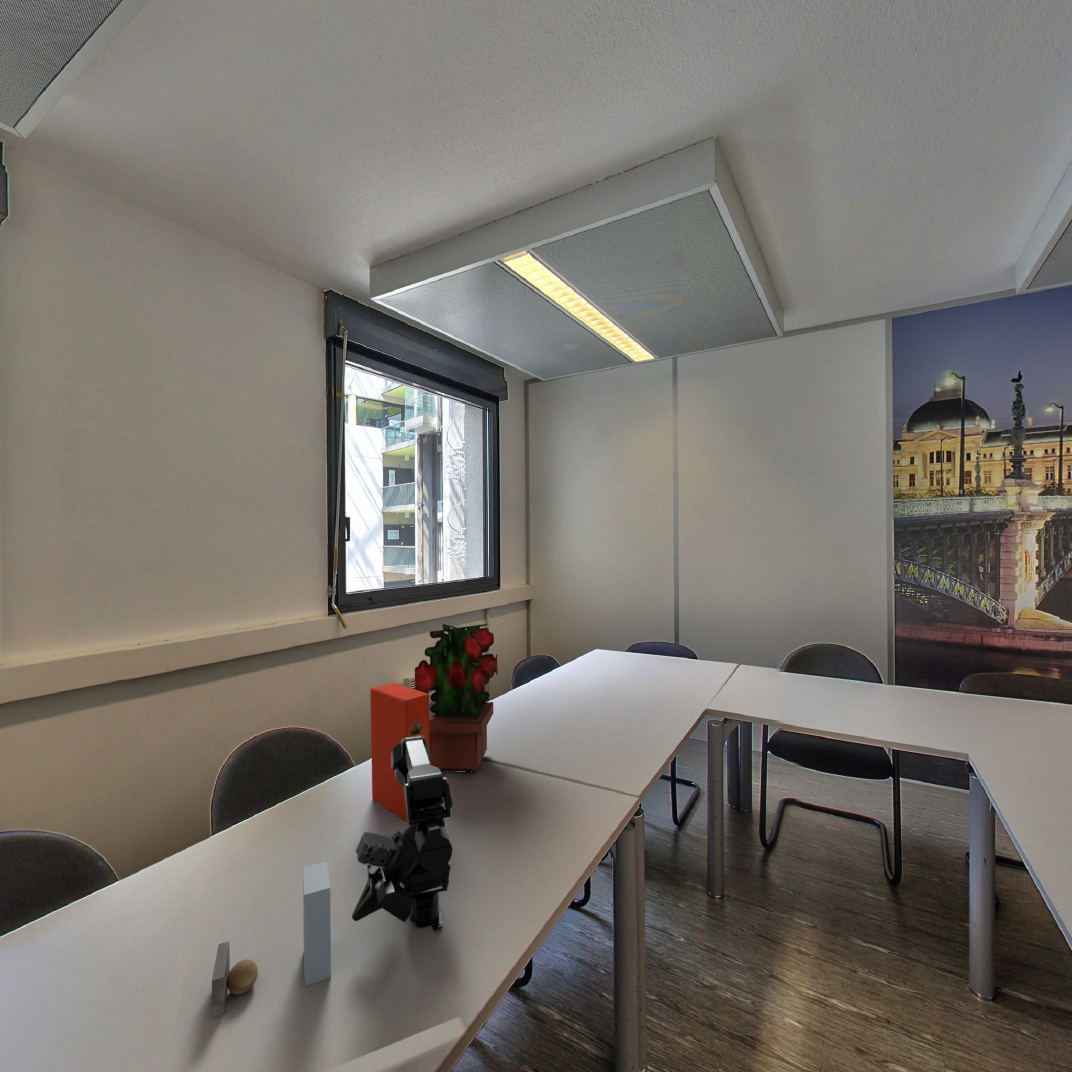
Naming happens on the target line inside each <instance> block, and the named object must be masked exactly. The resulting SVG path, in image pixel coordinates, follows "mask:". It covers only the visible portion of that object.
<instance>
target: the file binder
mask: <svg viewBox="0 0 1072 1072" xmlns="http://www.w3.org/2000/svg"><path fill="white" fill-rule="evenodd" d="M369 695H370V735H371V736H370V739H371V740H370V743H371V744H370V745H371V749H370V750H371V796H372V797H371V798H372V800H373V801H374V802H376V803H378V804H379V805H381V806H382V807H384V808H385V809H387V810H388V811H390V812H392V813H393V814H395V815H397V816H398V817H400V818H401V819H403V820H404V821H406V822H408V821H407V813H406V804H405V794H404V787H403V786H402V785H401V784H399V783H398V782H397V781H396V778H395V771H394V770H392V768H391V753H392V748H394V747H395V746H397V745H398V744H400V743H401V740H402V739H404V738H406V737H413V736H420V735H421V736H424V737H425V741H426V742H428V743H429V750H430V731H429V710H430V695H429V693H428V694H427V693H424V692H421V691H418V690H415V688H411V687H408V686H406V685H402V684H401V683H396V682H390V683H387V684H383V685H379V686H375V687H372V688H370V694H369Z"/></svg>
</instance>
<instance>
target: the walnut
mask: <svg viewBox="0 0 1072 1072" xmlns="http://www.w3.org/2000/svg"><path fill="white" fill-rule="evenodd" d="M258 975H259V970H258V966H257V964H256V962H255V961H254V960H252V959H243V960H240V961H238V962H237V963H236V964H234V965H233V966H232V968H231V969H230V973H229V975H228V978H227V987H228V991H229V992H230V993H231V994H233V995H235V996H236V995H238V996H239V995H243V994H245V993H247V992H249V990H251V989H252V987H253V986H254V985H255V983H256V981H257V979H258Z"/></svg>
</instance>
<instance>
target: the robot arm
mask: <svg viewBox="0 0 1072 1072" xmlns="http://www.w3.org/2000/svg"><path fill="white" fill-rule="evenodd" d="M391 768H392V770H394V771H395V778H396V781H397V782H398V783H399V784H401V785H402V786H403V787H404V794H405V804H406V813H407V821H406V822H407V825H408V826H406V828H405V829H404V830H403V831H402V832H400V831H397V832H395V833H393V835H392V836H391V837H388V836H385V835H382V834H379V833H373V832H368V831H365V832H363V833H362V835H361V837H360V841H359V843H358V845H357V847H356V849H355V853H356V854H357V861H358V862H359V863H360V864H363V865H366V870H367V871H366V872H367V882H366V883H365V886H364V888H363V891H362V893H361V895H360V897H359V899H358V901H357V904H356V906H355V908H354V910H353V911H352V914H351V919H352V920H353V921H354V922H358V921H360V920H362V919H364V918H366V917H367V916H370V915H371V914H373V913H375V912H377V911H379V910H381V909H383V910H384V911H386V912H388V913H389V914H390V915H392V916H394V918H397V919H398V920H399V921H401V922H403V923H406V922H407V921H408V919H409V920H410V921H411V922H412V923H414V924H415V927H417V929H422V928H427V927H431V929H432V931H435V930H440V929H442V928H443V921H442V920H443V919H442V913H441V910H442V909H441V905H440V899H439V898H440V893H441V892H447V891H448V887H449V884H450V872H451V868H452V867H451V864H449V862H450V860H451V859H452V855H453V845H452V843H451V841H450V839H449V836H448V833H447V832H446V829H445V828H446V827H445V826H446V825H445V823H446V822H445V820H444V819H446V818H448V819H449V818H451V817H452V813H451V812H452V811H451V809H453V805H454V804H453V800H452V794H451V787H450V783H449V781H448V779H447V777H446V776H443V773H442V772H443V771H440V769H439V768H438V767H435V766H432V765H431V763H430V750H429V743H428V742H426V741H425V737H424V736H421V735H420V736H413V737H406V738H404V739H402V740H401V743H400V744H398V745H397V746H395V747H394V748H392V753H391ZM443 804H444V806H443Z"/></svg>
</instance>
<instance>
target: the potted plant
mask: <svg viewBox="0 0 1072 1072" xmlns="http://www.w3.org/2000/svg"><path fill="white" fill-rule="evenodd" d="M487 625H488V623H485V624H484V623H482V624H477V625H469V626H462V627H457V626H453V625H448V624H446V623H445V624H444V623H442V629H439V630H438V629H437V630H431V631H429V637H430V638H431V639H438V638H439V639H438V640H437V641H436V642H435V645H434V646H428V647H426V649H424V653H423V654H424V655H425V657H429V663H428V661H427V660H426V659H421V661H419V663H418V666H416V667H414V689H415V690H418V691H421V692H424V693H427V694H429V692H431V691H434V692H433V693H431V694H430V696H429V700H431V702H435V703H433V704H432V705H431V706H430V708H429V731H430V763H431V765H432V766H435V767H438V768H439V769H440V771H441V772H443V771H462V772H461V773H470V772H471V771H472V772H473V773H474V771H475V770H478V769H479V767H480V766H481V763H482V760H483V758H484V756H485V754H486V753H487V750H488V724H489V722H490V720H491V718H492V717H493V715H494V701H488V700H489V698H490V695H491V694H490V693H489V691H486V685H487V684H488V683H489V682H490V680H491V678H493V677H494V674H495V675H498V654H496V655H495V656H494V654H493V653H487V652H488V651H489V650H490V647H491V646H493V645H494V642H495V636H494V633H493V632H490V629H489V628H488V627H485V626H487ZM481 627H482V628H481ZM445 632H446V633H445ZM483 653H486V654H483ZM473 770H474V771H473ZM463 771H465V772H463Z"/></svg>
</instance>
